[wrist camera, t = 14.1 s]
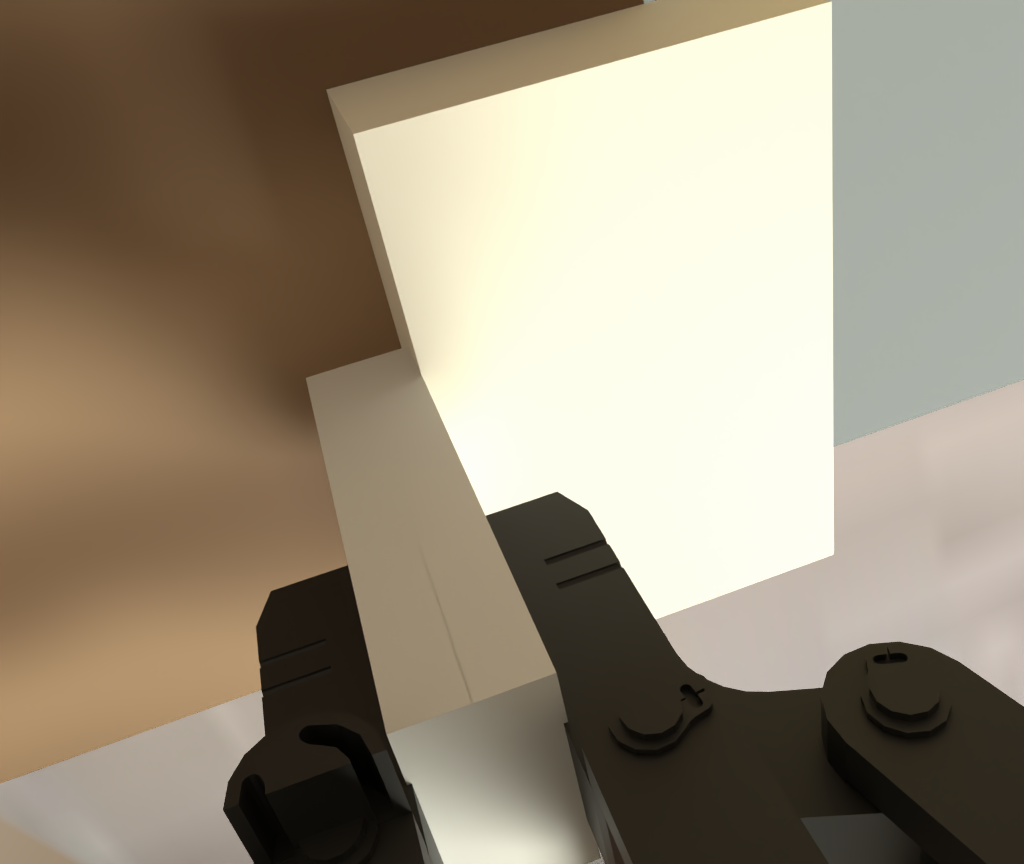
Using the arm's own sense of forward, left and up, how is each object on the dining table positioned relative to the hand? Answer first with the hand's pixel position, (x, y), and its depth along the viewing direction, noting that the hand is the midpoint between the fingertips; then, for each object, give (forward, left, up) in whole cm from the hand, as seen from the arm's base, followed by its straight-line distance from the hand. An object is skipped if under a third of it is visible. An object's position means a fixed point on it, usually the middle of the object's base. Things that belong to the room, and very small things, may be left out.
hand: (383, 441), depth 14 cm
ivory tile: (0, +4, -2) cm, 4 cm away
